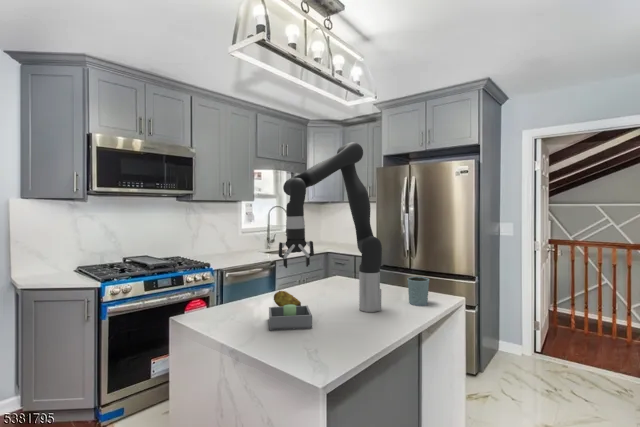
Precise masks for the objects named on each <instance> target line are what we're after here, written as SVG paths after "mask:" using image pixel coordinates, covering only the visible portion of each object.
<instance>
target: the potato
mask: <svg viewBox="0 0 640 427" xmlns="http://www.w3.org/2000/svg"><path fill="white" fill-rule="evenodd" d="M273 301H274V302H275V304H276V305H277V307H284V305H288V304H292V305H296V306H302V303H301V301H300V300H299V299H298V298H296V297H294V295H292V294H290V293H289V292H288V291H286V290H279V291H276V292H275V294H274V295H273Z"/></svg>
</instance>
